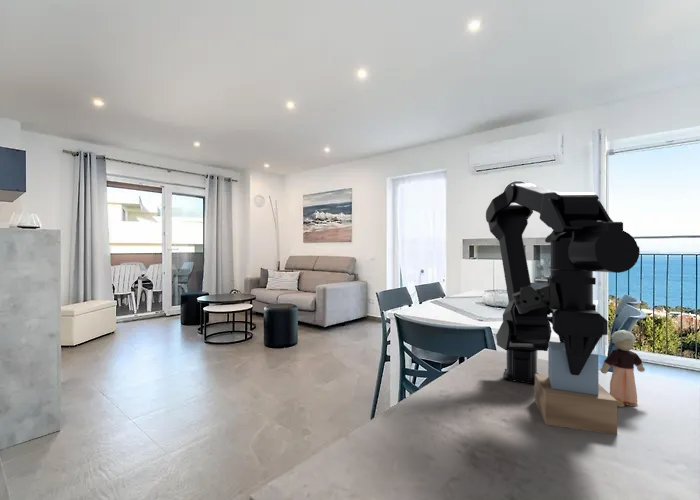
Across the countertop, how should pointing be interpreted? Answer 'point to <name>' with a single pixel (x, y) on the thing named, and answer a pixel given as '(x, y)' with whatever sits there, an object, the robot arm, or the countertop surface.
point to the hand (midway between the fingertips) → (571, 368)
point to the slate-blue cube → (561, 372)
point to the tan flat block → (576, 407)
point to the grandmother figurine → (623, 369)
